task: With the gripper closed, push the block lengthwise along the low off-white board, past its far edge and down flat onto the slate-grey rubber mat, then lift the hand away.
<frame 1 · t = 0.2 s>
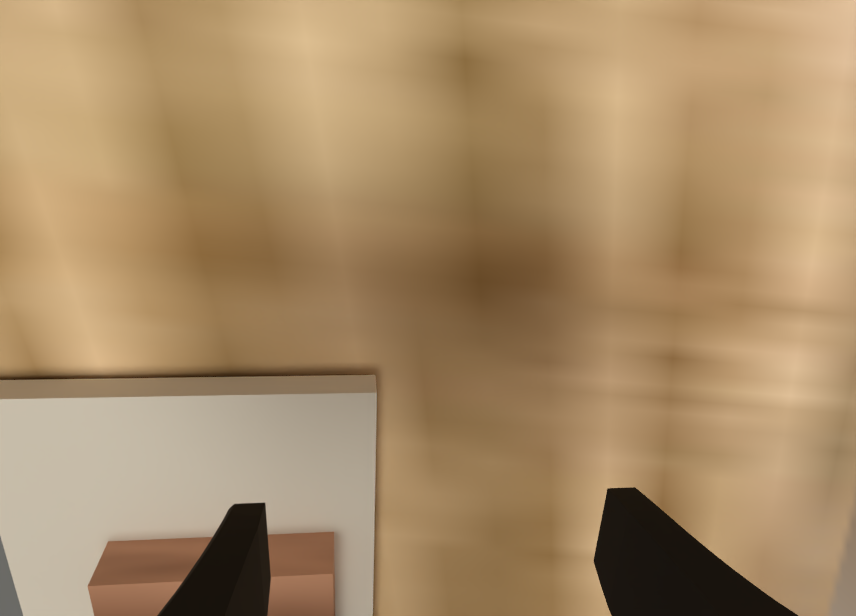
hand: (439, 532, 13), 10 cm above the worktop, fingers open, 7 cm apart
board: (208, 573, 26), on the worktop
block: (229, 596, 25), point 1 cm above the worktop, touching board
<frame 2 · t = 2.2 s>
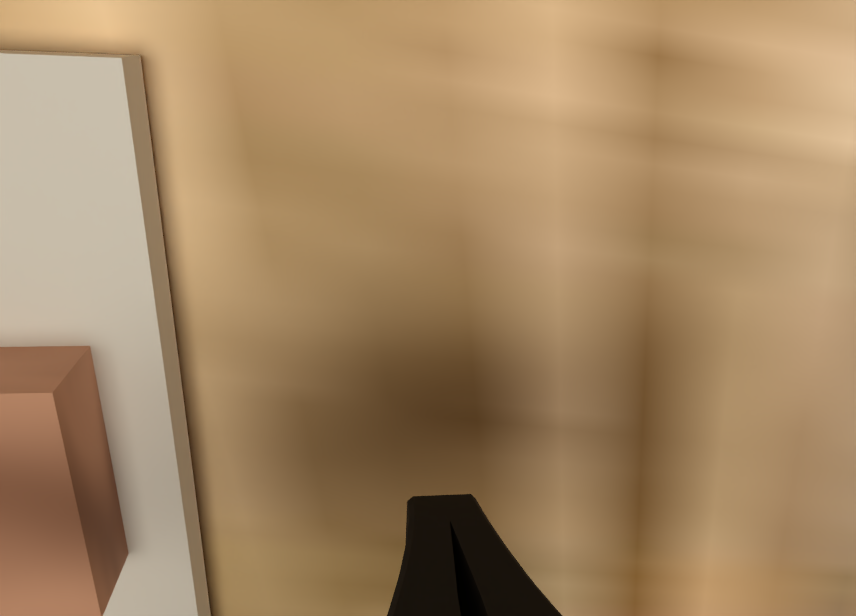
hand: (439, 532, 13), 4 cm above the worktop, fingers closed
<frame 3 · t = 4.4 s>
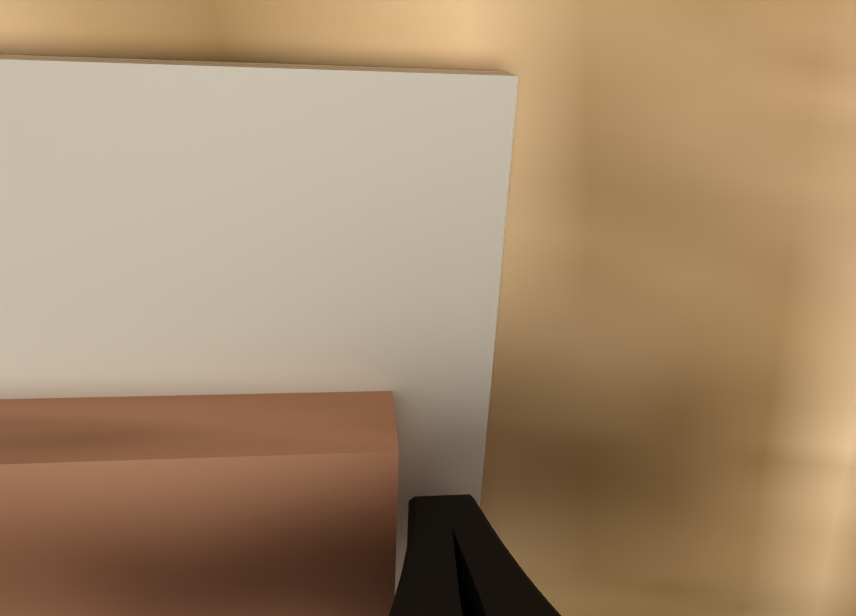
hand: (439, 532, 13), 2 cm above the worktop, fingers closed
board: (189, 481, 15), on the worktop
block: (200, 517, 14), point 1 cm above the worktop, touching board, gripper
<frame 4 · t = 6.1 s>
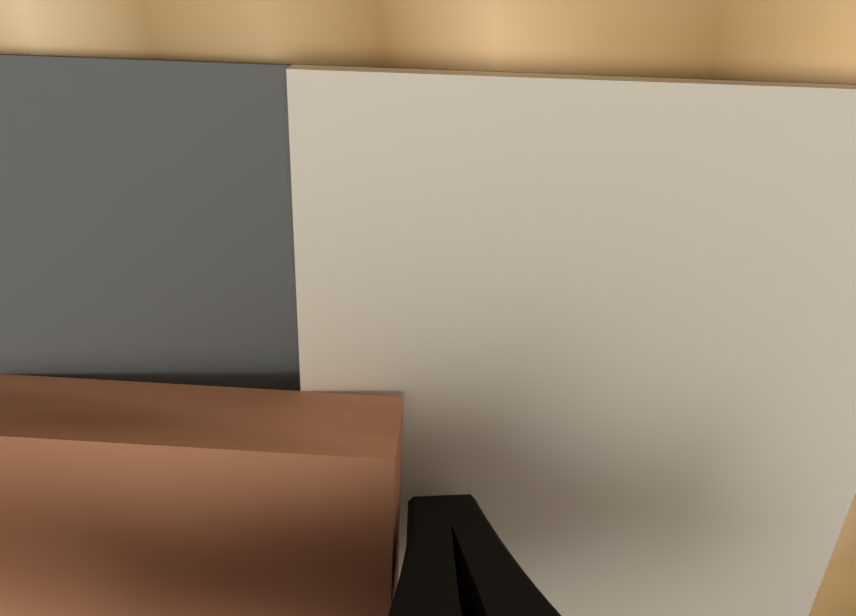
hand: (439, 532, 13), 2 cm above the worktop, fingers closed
board: (579, 466, 16), on the worktop
block: (215, 505, 14), point 1 cm above the worktop, tilted 9°, touching board, gripper
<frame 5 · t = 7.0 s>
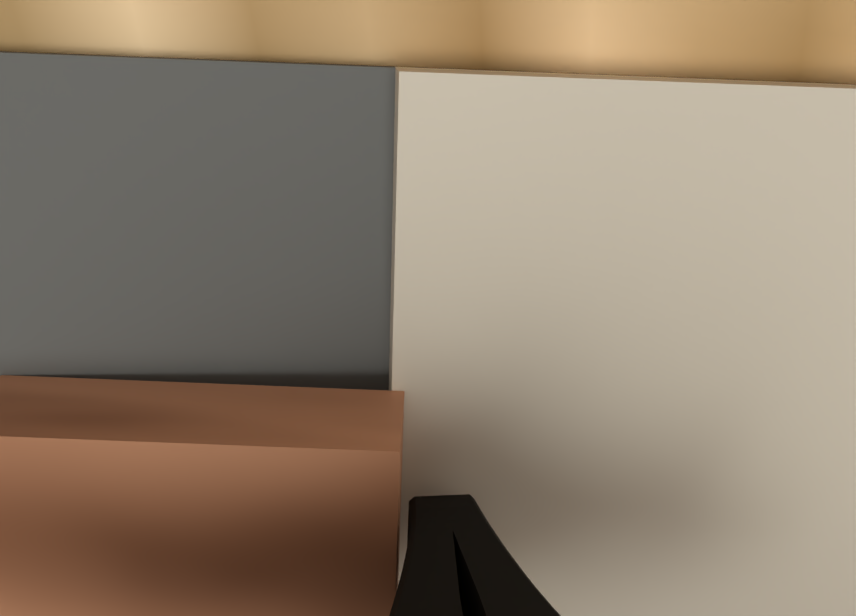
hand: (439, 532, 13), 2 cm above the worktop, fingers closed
board: (648, 464, 16), on the worktop
block: (217, 502, 14), point 1 cm above the worktop, tilted 7°, touching board, gripper, mat
mat: (71, 485, 14), on the worktop
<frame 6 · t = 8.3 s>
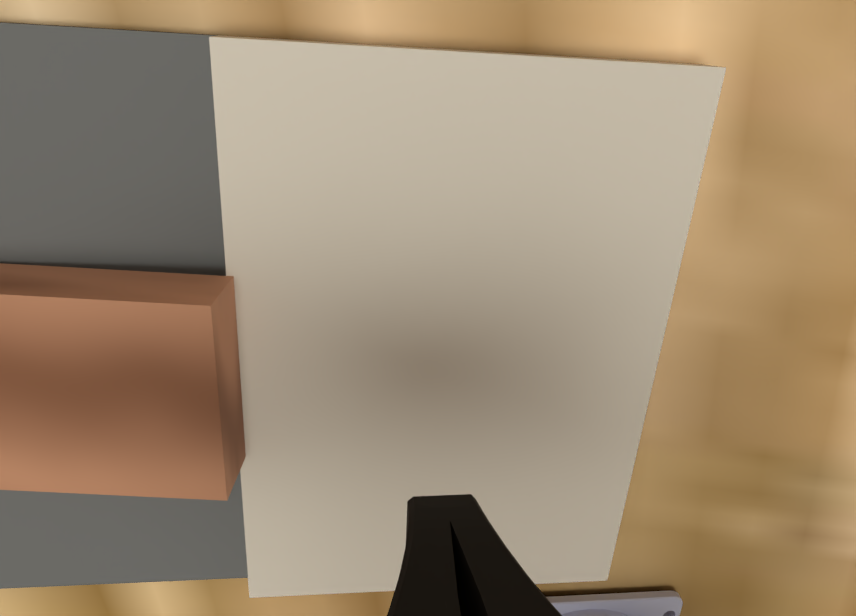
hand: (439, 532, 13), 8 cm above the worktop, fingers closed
board: (448, 352, 21), on the worktop
block: (101, 365, 19), point 1 cm above the worktop, tilted 7°, touching board, mat
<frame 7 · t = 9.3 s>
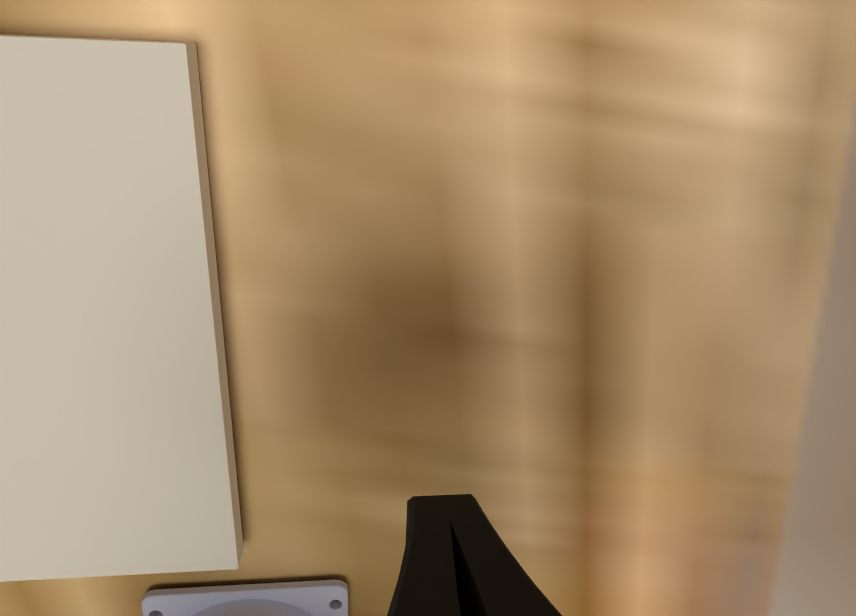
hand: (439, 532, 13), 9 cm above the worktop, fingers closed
board: (13, 338, 21), on the worktop
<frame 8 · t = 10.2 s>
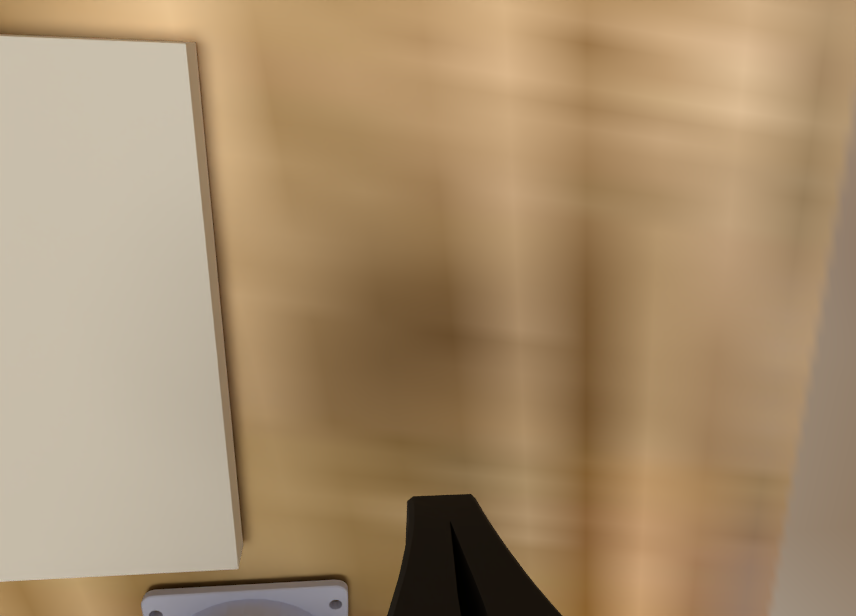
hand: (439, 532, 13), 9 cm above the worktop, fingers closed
board: (13, 338, 21), on the worktop
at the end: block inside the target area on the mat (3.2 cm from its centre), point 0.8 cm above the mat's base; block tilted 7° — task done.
